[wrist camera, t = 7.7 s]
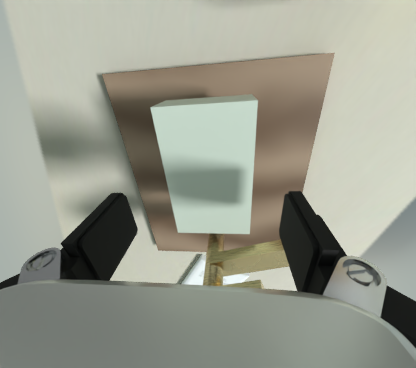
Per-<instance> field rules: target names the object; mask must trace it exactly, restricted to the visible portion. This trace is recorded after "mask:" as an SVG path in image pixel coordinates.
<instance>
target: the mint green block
mask: <svg viewBox="0 0 416 368" xmlns="http://www.w3.org/2000/svg"><path fill="white" fill-rule="evenodd" d="M257 107H258V100H257V99H256V98H255V97H254V96H253V95H252V94H250V95H235V96H221V97H207V98H193V99H179V100H165V101H163V102H161V103H159V104H157V105H155V106H152V107H150V108H151V113H152V117H153V122H154V126H155V131H156V135H157V140H158V145H159V149H160V154H161V158H162V163H163V167H164V172H165V176H166V181H167V185H168V190H169V194H170V199H171V203H172V208H173V212H174V217H175V221H176V226H177V230H178V233H217V234H250V222H251V205H252V189H253V173H254V156H255V140H256V124H257Z"/></svg>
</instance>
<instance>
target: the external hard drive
mask: <svg viewBox="0 0 416 368" xmlns="http://www.w3.org/2000/svg"><path fill="white" fill-rule="evenodd" d="M205 262H206V255H203V254H202V255H201V256H200V257H199V259H198V260H197V262H196V263H195V264H194V266H193V267H192V269H191V270H190V272H189V273H188V275H187V276H186V277H185V279H184V280H183V282H182V283H181V284H188V285H203V279H204V271H205ZM248 277H249V273H244V274H237V275H231V276H225V277H223V285H228V284H235V283H242V282H243V281H245V280H246V279H247V278H248Z"/></svg>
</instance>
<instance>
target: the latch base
mask: <svg viewBox="0 0 416 368" xmlns="http://www.w3.org/2000/svg"><path fill="white" fill-rule="evenodd" d="M334 54H335V53H328V54H317V55H306V56H295V57H284V58H273V59H263V60H252V61H241V62H230V63H219V64H208V65H198V66H187V67H176V68H165V69H154V70H143V71H133V72H122V73H111V74H102V76H103V79H104V82H105V85H106V88H107V91H108V95H109V98H110V101H111V104H112V107H113V110H114V113H115V116H116V119H117V123H118V126H119V129H120V132H121V135H122V138H123V141H124V144H125V148H126V151H127V154H128V157H129V160H130V163H131V166H132V169H133V173H134V176H135V179H136V182H137V185H138V188H139V191H140V194H141V198H142V201H143V204H144V207H145V210H146V213H147V216H148V219H149V223H150V226H151V229H152V232H153V235H154V238H155V241H156V244H157V247H158V250H162V251H193V252H207V246H208V238H209V233H178V230H177V226H176V221H175V217H174V212H173V208H172V203H171V199H170V194H169V190H168V185H167V181H166V176H165V172H164V167H163V163H162V158H161V154H160V149H159V145H158V140H157V135H156V131H155V126H154V122H153V117H152V113H151V108H150V107H152V106H155V105H157V104H159V103H161V102H163V101H165V100H179V99H193V98H207V97H221V96H235V95H250V94H252V95H253V96H254V97H255V98H256V99H257V100H258V107H257V124H256V140H255V156H254V173H253V189H252V205H251V222H250V234H224V251H225V250H230V249H235V248H240V247H245V246H250V245H255V244H260V243H265V242H270V241H275V240H280V236H279V227H280V221H281V215H282V208H283V202H284V196H285V194H288V192H289V191H301V192H303V188H304V183H305V179H306V175H307V170H308V166H309V162H310V157H311V153H312V149H313V144H314V140H315V136H316V131H317V127H318V123H319V118H320V114H321V110H322V105H323V101H324V97H325V92H326V88H327V84H328V79H329V75H330V71H331V66H332V62H333V58H334Z"/></svg>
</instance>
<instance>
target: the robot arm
mask: <svg viewBox="0 0 416 368" xmlns="http://www.w3.org/2000/svg"><path fill="white" fill-rule="evenodd" d="M136 234H137V226H136V223H135V220H134V217H133V214H132V211H131V208H130V206H129V203H128V200H127V197H126V196H125V195H124V194H123V193H111V194H110V195H109V196H108V197H107V198H106V199H105V200H104V201H103V202H102V203H101V204H100V205H99V206H98V207H97V208H96V209H95V210H94V211H93V212H92V213H91V214H90V215H89V216H88V217H87V218H86V219H85V220H84V221H83V222H82V223H81V224H80V225H79V226H78V227H77V228H76V229H75V230H74V231H73V232H72V233H71V234H70V235H69V236H68V237H67V238H66V239H65V240H64V241H63V242H62V243H61V245H62V246H63V248H62V249H61V250H59V249H58V248H48V249H45V250H43V251H41V252H38V253H37V254H35V255H33V256H32V257H31V258H29V259H28V260H27V261H26V262H25V263H24V265H23V266H22V268H21V272H20V274H18V275H16V276H14V277H11V278H9V279H7V280H5V281H3V282H1V283H0V368H416V301H414V300H412V299H410V298H408V297H407V296H405V295H403V294H401V293H399V292H398V291H396V290H394V289H392V288H390V287H389V286H387V281H386V278H385V276H384V274H383V273H382V272H381V271H380V270H379V269H378V268H377V267H376V266H374V265H373V264H372V263H370V262H368V261H366V260H364V259H362V258H359V257H355V256H347V255H346V254H345V252H344V251H343V249H342V248H341V246H340V245H339V243H338V242H337V240H336V239H335V237H334V236H333V234H332V233H331V231H330V230H329V228H328V227H327V225H326V224H325V222H324V221H323V219H322V218H321V217H320V216H319V215H316V214H315V212H314V211H313V209H312V208H311V206H310V204H309V203H308V201H307V200H306V198H305V197H304V195H303V194H302V192H301V191H289V192H288V194H285V196H284V202H283V208H282V215H281V221H280V227H279V236H280V239H281V242H282V245H283V248H284V251H285V254H286V257H287V260H288V264H289V267H290V270H291V273H292V276H293V279H294V282H295V285H296V288H297V291H288V290H274V289H260V288H244V287H226V286H207V285H188V284H168V283H148V282H126V281H109V280H110V278H111V277H112V275H113V273H114V272H115V270H116V268H117V267H118V265H119V263H120V261H121V260H122V258H123V256H124V255H125V253H126V251H127V249H128V248H129V246H130V244H131V243H132V241H133V239H134V237H135V236H136Z"/></svg>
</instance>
